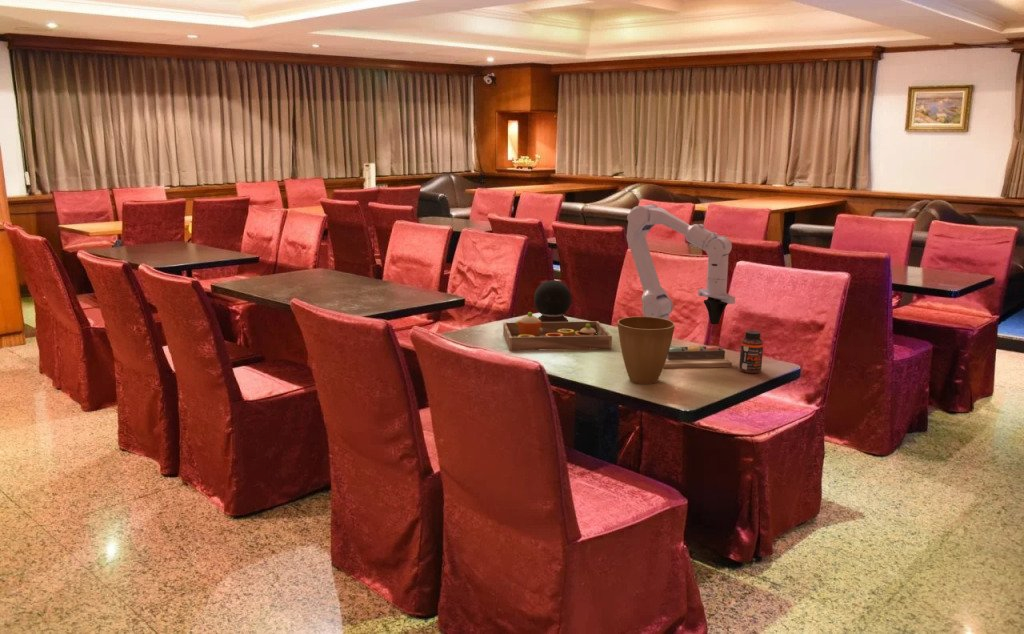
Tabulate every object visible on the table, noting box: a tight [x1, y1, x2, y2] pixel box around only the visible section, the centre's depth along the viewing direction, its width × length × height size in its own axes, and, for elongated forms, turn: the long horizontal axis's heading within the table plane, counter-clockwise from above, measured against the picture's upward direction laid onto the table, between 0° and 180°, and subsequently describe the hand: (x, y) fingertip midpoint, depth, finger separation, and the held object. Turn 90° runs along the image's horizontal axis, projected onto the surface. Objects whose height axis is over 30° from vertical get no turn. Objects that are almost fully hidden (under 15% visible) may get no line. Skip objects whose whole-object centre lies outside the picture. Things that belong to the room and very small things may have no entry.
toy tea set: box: [513, 311, 596, 337], centre depth 264 cm, size 26×16×10 cm, turn 93°
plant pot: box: [617, 315, 676, 385], centre depth 223 cm, size 15×15×16 cm
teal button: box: [669, 346, 682, 351], centre depth 243 cm, size 4×4×2 cm
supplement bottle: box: [739, 329, 764, 374], centre depth 233 cm, size 6×6×11 cm
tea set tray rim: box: [502, 320, 613, 352], centre depth 267 cm, size 22×32×4 cm
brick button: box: [706, 345, 720, 351], centre depth 245 cm, size 4×4×2 cm
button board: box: [663, 345, 733, 369], centre depth 244 cm, size 14×20×4 cm
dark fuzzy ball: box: [533, 279, 573, 322], centre depth 293 cm, size 13×13×15 cm
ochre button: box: [687, 345, 701, 351], centre depth 244 cm, size 4×4×2 cm
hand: (714, 323), depth 248 cm, fingers closed
